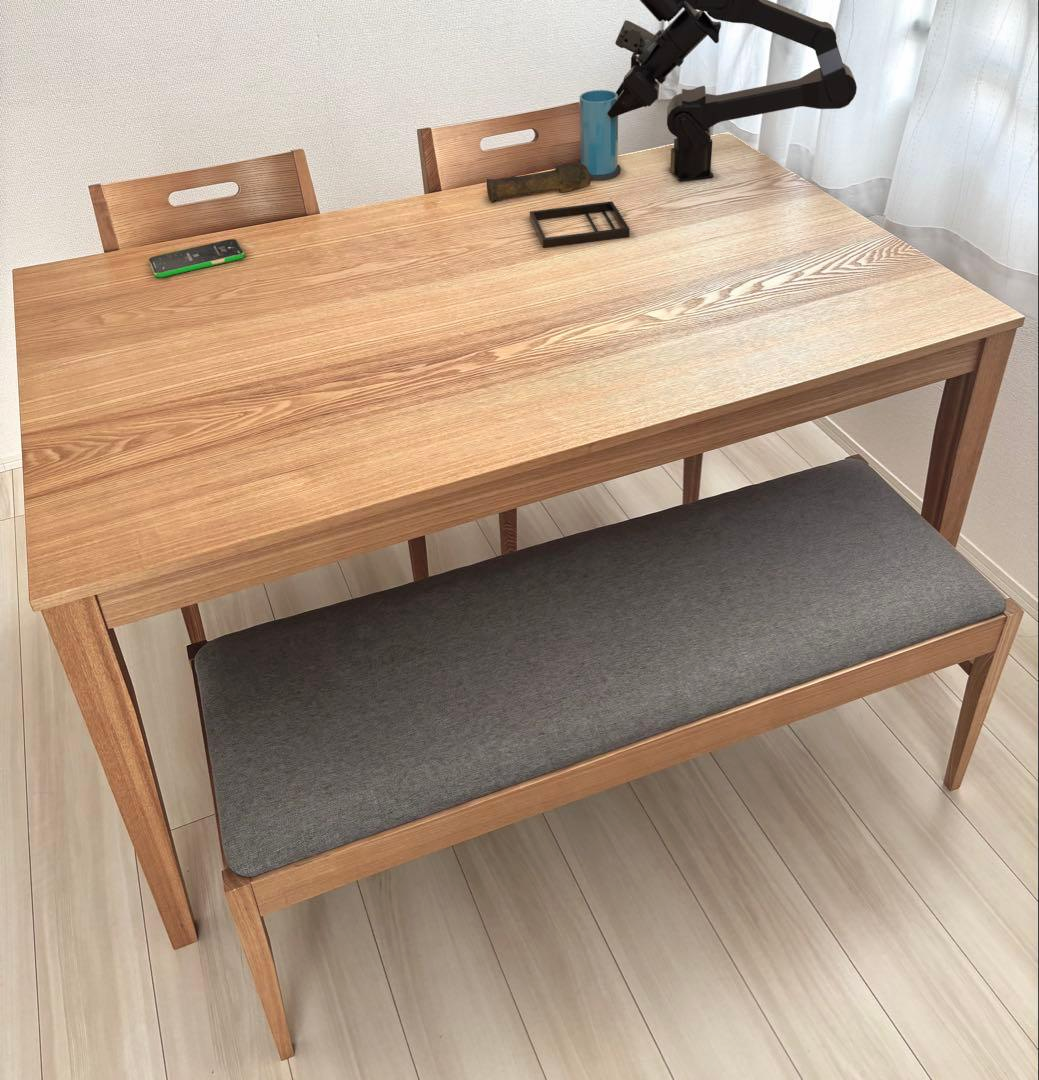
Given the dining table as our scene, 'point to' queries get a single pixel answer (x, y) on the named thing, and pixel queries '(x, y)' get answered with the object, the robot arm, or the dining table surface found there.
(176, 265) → the smartphone
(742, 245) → the dining table surface
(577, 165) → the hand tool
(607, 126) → the cup
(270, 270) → the dining table surface
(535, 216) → the black rectangular frame
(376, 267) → the dining table surface
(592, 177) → the trivet
